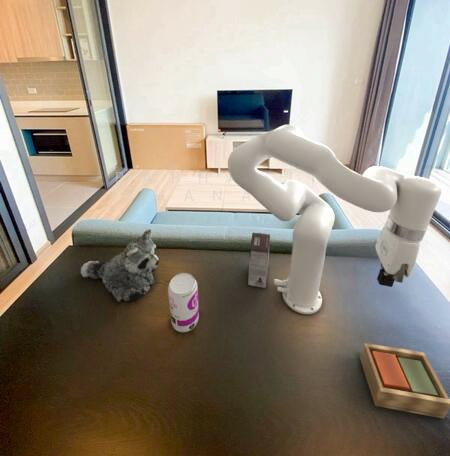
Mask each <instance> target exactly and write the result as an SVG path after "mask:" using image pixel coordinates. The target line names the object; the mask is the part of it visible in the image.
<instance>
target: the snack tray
mask: <svg viewBox="0 0 450 456" xmlns="http://www.w3.org/2000/svg"><path fill="white" fill-rule="evenodd" d="M359 360H360V363H361V365H362V369H363V372H364V375H365V379H366V381H367V384H368V387H369V390H370V394H371V397H372V399H373V404H374V405H375V406H376V407H380V408H385V409H389V410H390V409H391V410H397V411H401V412H406V413H411V414H418V415H423V416H428V417H433V418H439V419H443V420H444V419H445V417H446V416H447V414H448V412H449V411H450V398H449V396H448V394H447V392H446V391H445V388H444V386H443V385H442V382H440V379H439V378H438V376H437V374H436V372H435V370H434V369H433V367H432V365H431V363H430V361H429V359H428V357H427V355H426V353H425V352H423V351H417V350H411V349H404V348H397V347H391V346H386V345H378V344H373V343H372V344H371V343H365V342H364V343H363V345H362V348H361V352H360V355H359Z"/></svg>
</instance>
